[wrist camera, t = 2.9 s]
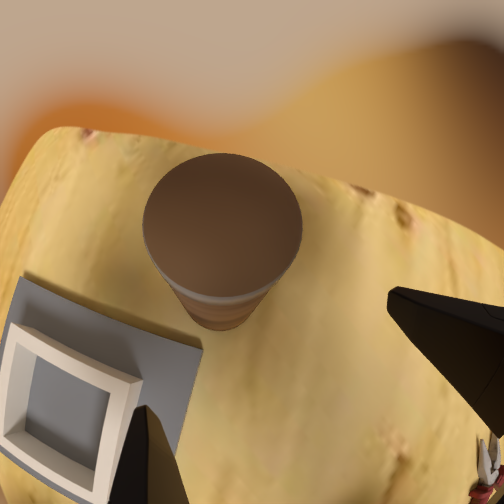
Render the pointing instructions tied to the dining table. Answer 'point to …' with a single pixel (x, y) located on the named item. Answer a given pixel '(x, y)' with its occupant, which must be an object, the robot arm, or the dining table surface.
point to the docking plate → (83, 390)
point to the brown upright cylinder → (222, 235)
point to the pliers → (488, 471)
